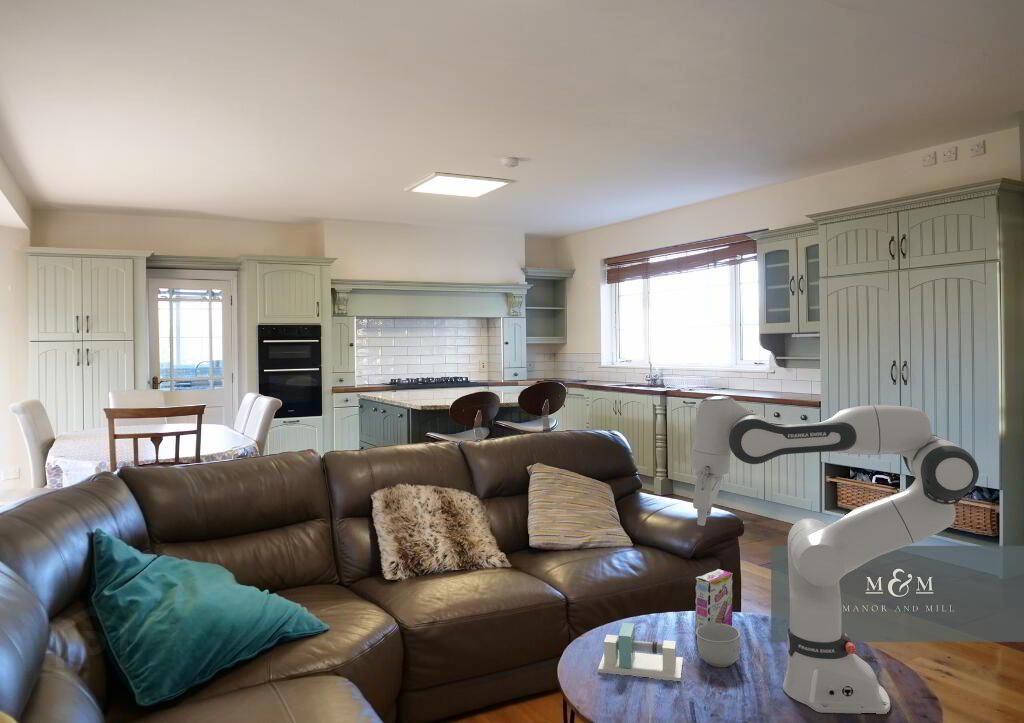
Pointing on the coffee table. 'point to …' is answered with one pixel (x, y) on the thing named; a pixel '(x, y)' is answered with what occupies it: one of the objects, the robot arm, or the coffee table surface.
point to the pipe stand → (643, 659)
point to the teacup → (718, 644)
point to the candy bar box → (714, 598)
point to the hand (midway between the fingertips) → (703, 519)
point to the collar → (626, 645)
